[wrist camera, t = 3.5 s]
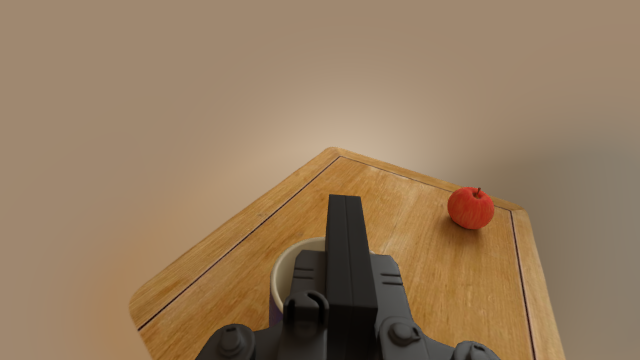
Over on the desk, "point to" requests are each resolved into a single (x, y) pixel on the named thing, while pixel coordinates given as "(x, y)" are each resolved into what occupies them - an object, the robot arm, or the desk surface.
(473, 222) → the apple
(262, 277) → the desk surface
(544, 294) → the desk surface
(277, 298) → the planter
